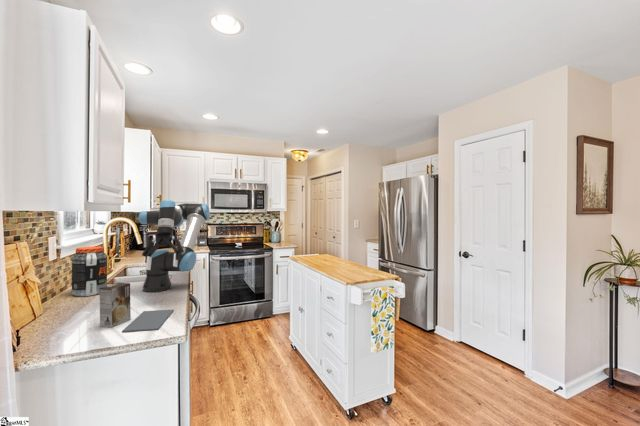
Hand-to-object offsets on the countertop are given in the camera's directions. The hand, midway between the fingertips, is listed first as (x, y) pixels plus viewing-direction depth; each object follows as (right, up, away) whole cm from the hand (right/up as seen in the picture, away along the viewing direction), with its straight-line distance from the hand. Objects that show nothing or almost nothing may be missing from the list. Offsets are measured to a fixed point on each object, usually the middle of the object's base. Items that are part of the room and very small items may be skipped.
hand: (161, 268), depth 144 cm
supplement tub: (-51, -18, +19) cm, 58 cm away
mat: (+6, -19, -19) cm, 27 cm away
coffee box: (-8, -19, -22) cm, 30 cm away
